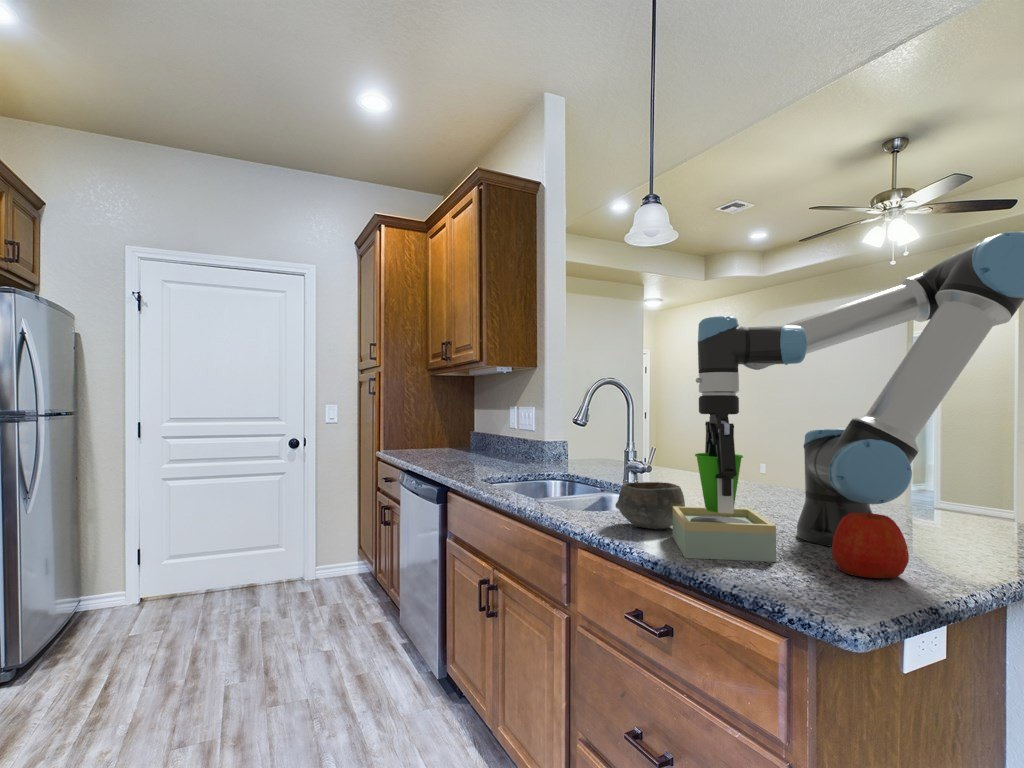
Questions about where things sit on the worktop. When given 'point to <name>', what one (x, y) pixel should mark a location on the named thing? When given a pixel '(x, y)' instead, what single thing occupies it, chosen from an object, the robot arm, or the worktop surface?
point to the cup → (713, 479)
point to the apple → (869, 546)
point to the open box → (724, 534)
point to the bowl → (650, 503)
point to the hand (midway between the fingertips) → (719, 507)
